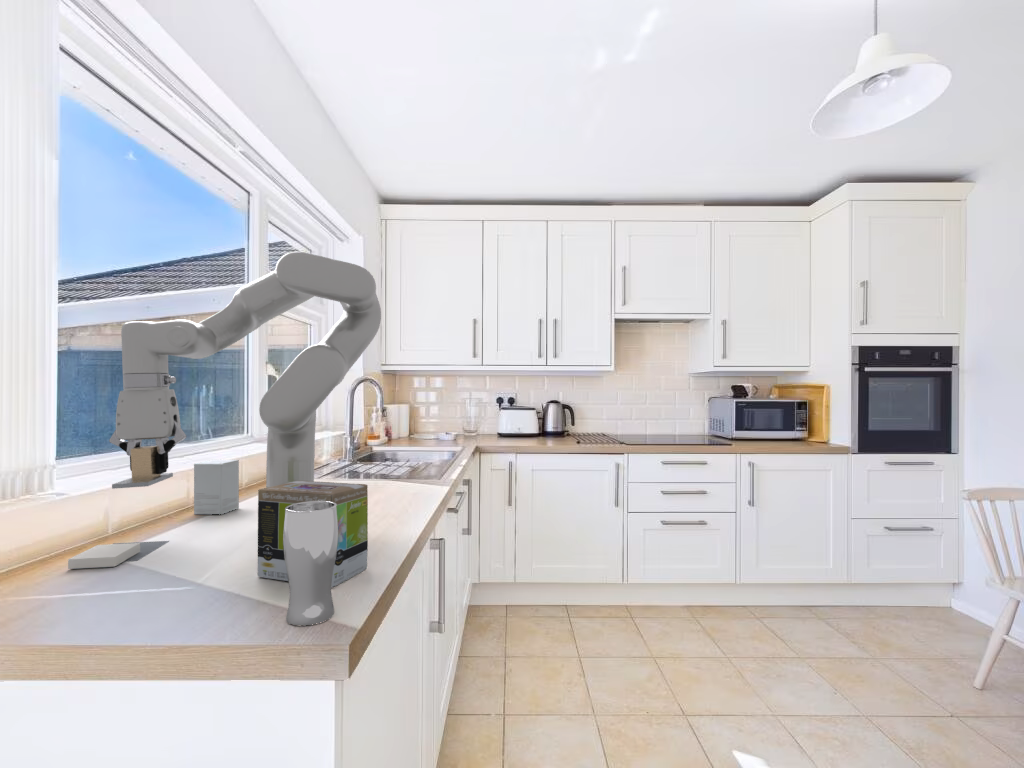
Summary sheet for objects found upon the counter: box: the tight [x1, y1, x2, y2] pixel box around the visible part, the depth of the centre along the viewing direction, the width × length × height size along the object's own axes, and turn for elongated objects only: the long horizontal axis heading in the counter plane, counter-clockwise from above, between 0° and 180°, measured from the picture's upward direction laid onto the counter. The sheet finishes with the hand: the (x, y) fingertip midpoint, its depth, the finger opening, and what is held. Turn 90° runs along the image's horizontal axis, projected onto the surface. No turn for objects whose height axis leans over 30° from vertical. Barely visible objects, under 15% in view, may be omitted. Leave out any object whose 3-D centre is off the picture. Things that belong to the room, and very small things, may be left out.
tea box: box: [257, 480, 369, 589], centre depth 85 cm, size 15×10×15 cm, turn 71°
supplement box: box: [193, 459, 240, 516], centre depth 128 cm, size 7×7×13 cm
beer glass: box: [283, 501, 338, 627], centre depth 69 cm, size 7×7×15 cm
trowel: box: [111, 445, 174, 490], centre depth 100 cm, size 10×6×7 cm, turn 11°
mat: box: [112, 540, 170, 563], centre depth 95 cm, size 10×12×1 cm
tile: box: [67, 542, 140, 570], centre depth 90 cm, size 2×7×8 cm
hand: (149, 472), depth 103 cm, fingers closed on trowel, 3 cm apart
